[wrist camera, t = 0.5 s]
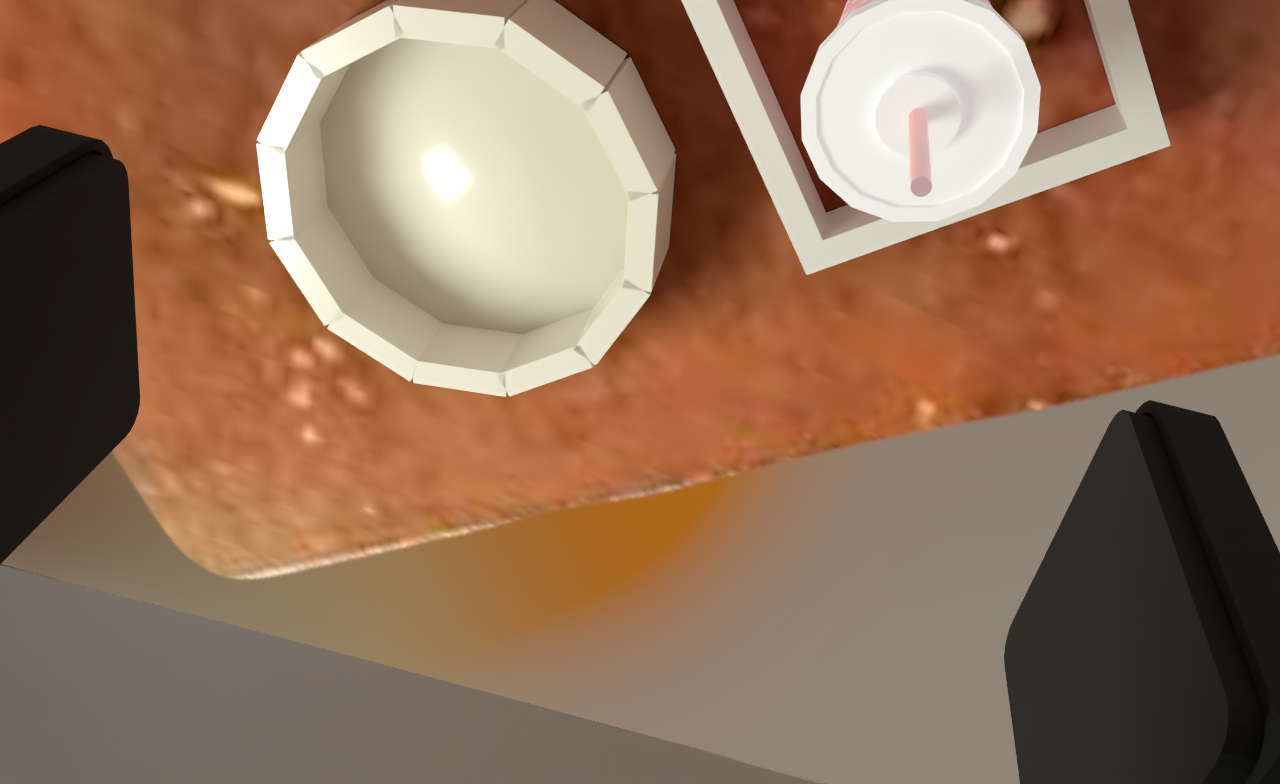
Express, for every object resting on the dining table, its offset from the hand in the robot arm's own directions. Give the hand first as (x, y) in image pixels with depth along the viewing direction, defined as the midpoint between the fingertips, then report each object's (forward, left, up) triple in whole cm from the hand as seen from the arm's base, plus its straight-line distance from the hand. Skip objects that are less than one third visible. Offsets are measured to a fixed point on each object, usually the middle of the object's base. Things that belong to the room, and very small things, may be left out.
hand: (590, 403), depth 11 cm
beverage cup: (-2, +5, -31) cm, 31 cm away
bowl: (+14, +4, -30) cm, 34 cm away
